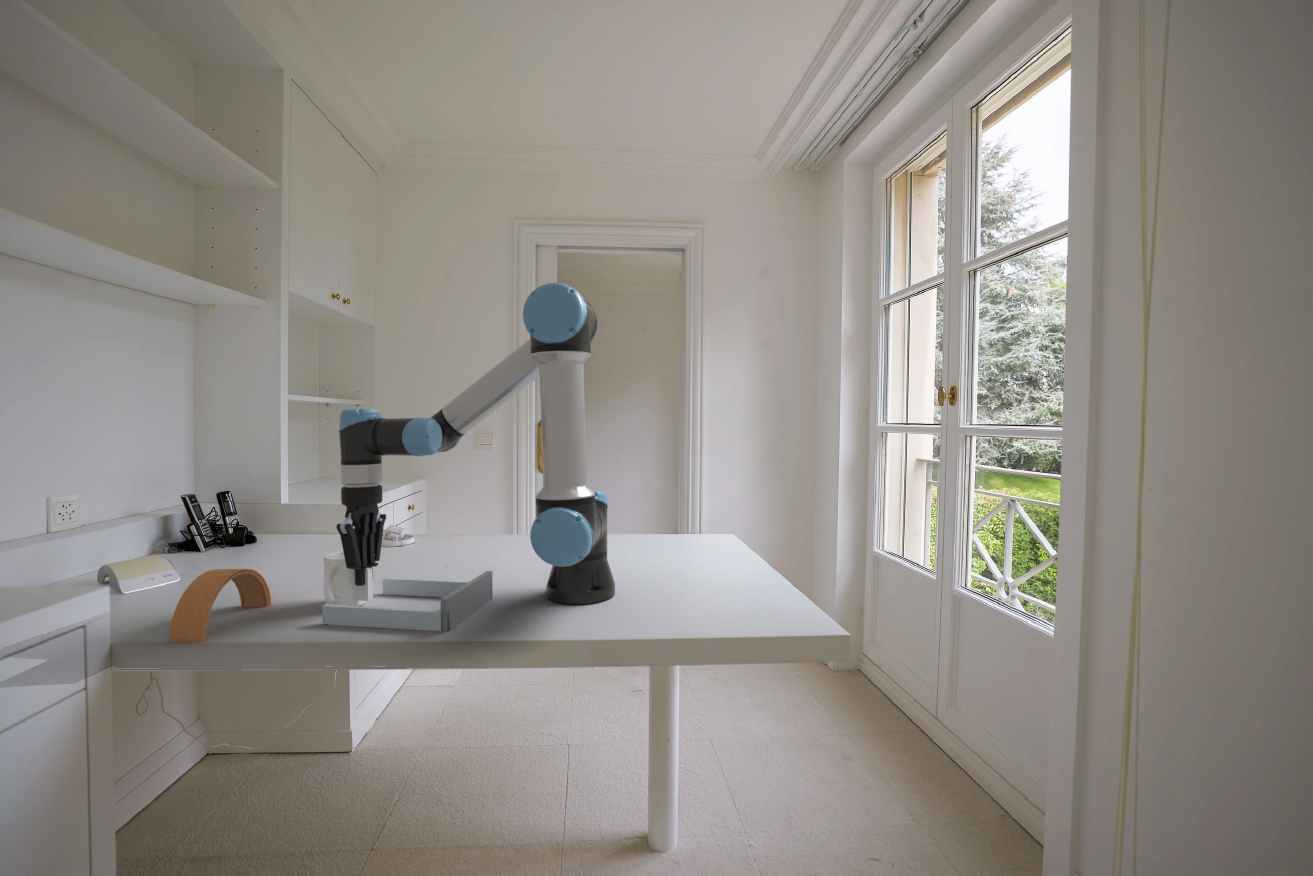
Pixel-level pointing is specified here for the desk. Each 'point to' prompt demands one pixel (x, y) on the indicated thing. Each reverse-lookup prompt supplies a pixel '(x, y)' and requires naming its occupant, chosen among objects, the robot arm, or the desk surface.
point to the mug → (339, 581)
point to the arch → (202, 595)
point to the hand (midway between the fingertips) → (364, 599)
